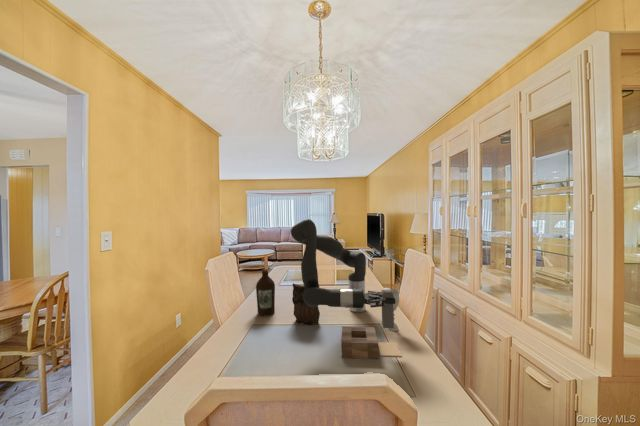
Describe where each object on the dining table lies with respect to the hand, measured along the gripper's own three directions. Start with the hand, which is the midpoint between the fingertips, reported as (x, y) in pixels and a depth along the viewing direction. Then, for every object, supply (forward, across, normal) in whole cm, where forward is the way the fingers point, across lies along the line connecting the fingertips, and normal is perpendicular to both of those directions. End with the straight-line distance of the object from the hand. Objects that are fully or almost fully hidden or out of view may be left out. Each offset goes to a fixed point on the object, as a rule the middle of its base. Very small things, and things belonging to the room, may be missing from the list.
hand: (394, 299), depth 105 cm
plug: (-3, 0, +11) cm, 11 cm away
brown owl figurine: (-39, +27, +21) cm, 52 cm away
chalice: (+3, +19, +21) cm, 28 cm away
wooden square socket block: (-14, 0, +21) cm, 25 cm away
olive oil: (-65, +36, +21) cm, 78 cm away
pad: (-2, 0, +21) cm, 21 cm away
